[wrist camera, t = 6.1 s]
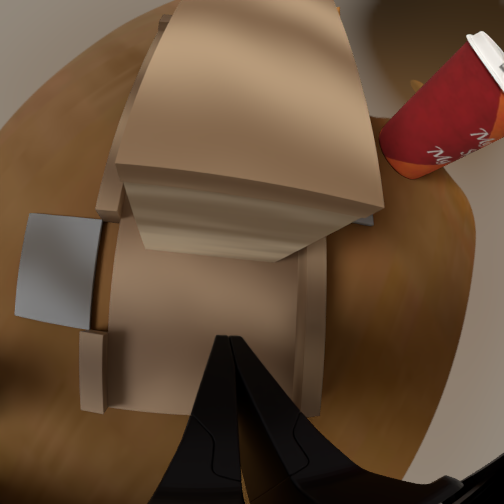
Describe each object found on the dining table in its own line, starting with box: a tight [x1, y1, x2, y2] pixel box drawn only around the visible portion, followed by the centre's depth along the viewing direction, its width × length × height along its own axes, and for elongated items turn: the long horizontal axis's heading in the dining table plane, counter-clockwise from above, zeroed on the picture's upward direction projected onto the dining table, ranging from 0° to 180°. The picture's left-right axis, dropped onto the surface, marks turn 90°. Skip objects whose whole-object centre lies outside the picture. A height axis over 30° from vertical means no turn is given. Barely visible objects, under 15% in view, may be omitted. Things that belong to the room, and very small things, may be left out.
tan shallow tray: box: [15, 15, 374, 417], centre depth 16 cm, size 26×22×3 cm
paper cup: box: [379, 31, 504, 179], centre depth 16 cm, size 8×8×14 cm
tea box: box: [115, 0, 384, 263], centre depth 12 cm, size 13×7×9 cm, turn 177°
